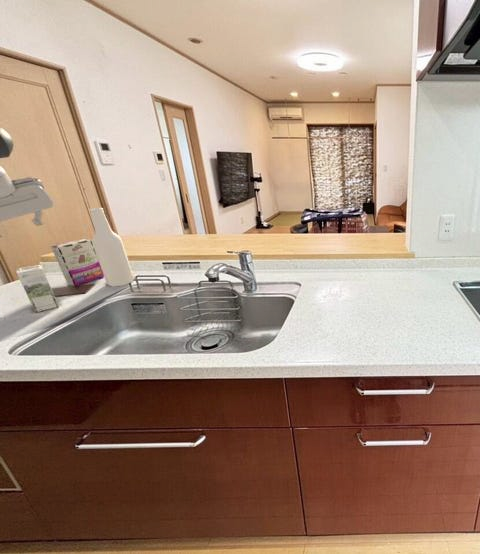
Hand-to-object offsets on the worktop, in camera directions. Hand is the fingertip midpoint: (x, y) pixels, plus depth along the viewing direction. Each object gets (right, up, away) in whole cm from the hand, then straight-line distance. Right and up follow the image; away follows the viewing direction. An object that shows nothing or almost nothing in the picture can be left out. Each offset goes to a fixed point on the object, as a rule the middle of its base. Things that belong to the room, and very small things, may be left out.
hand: (19, 230), depth 87 cm
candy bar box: (-14, -15, +36) cm, 41 cm away
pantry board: (-12, -19, +26) cm, 34 cm away
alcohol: (+1, -16, +34) cm, 38 cm away
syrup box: (-7, -24, +14) cm, 29 cm away
